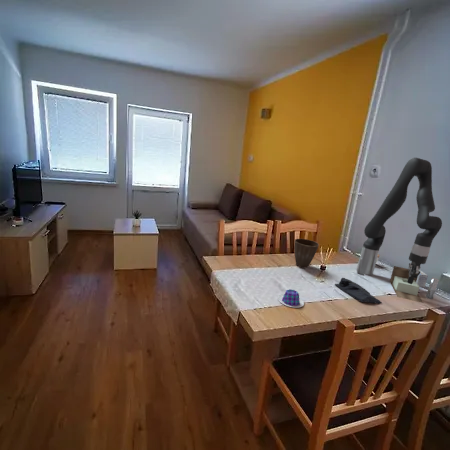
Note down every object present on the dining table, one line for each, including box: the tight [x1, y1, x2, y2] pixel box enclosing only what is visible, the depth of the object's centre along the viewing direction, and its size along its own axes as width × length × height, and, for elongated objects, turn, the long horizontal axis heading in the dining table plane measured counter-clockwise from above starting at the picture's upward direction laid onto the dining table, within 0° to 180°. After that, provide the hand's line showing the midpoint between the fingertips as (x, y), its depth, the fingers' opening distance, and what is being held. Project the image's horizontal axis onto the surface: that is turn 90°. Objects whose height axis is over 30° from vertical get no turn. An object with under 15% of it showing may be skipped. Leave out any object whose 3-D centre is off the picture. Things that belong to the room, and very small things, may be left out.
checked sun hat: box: [277, 289, 305, 309], centre depth 125 cm, size 12×12×5 cm
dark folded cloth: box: [334, 277, 383, 304], centre depth 142 cm, size 15×22×5 cm
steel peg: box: [425, 277, 440, 300], centre depth 144 cm, size 3×3×12 cm
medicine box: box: [416, 269, 429, 288], centre depth 162 cm, size 8×4×9 cm, turn 168°
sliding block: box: [393, 276, 420, 295], centre depth 152 cm, size 10×10×5 cm
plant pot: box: [293, 238, 320, 269], centre depth 172 cm, size 15×15×16 cm
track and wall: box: [389, 265, 425, 304], centre depth 148 cm, size 12×22×11 cm, turn 158°
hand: (409, 283), depth 144 cm, fingers closed
